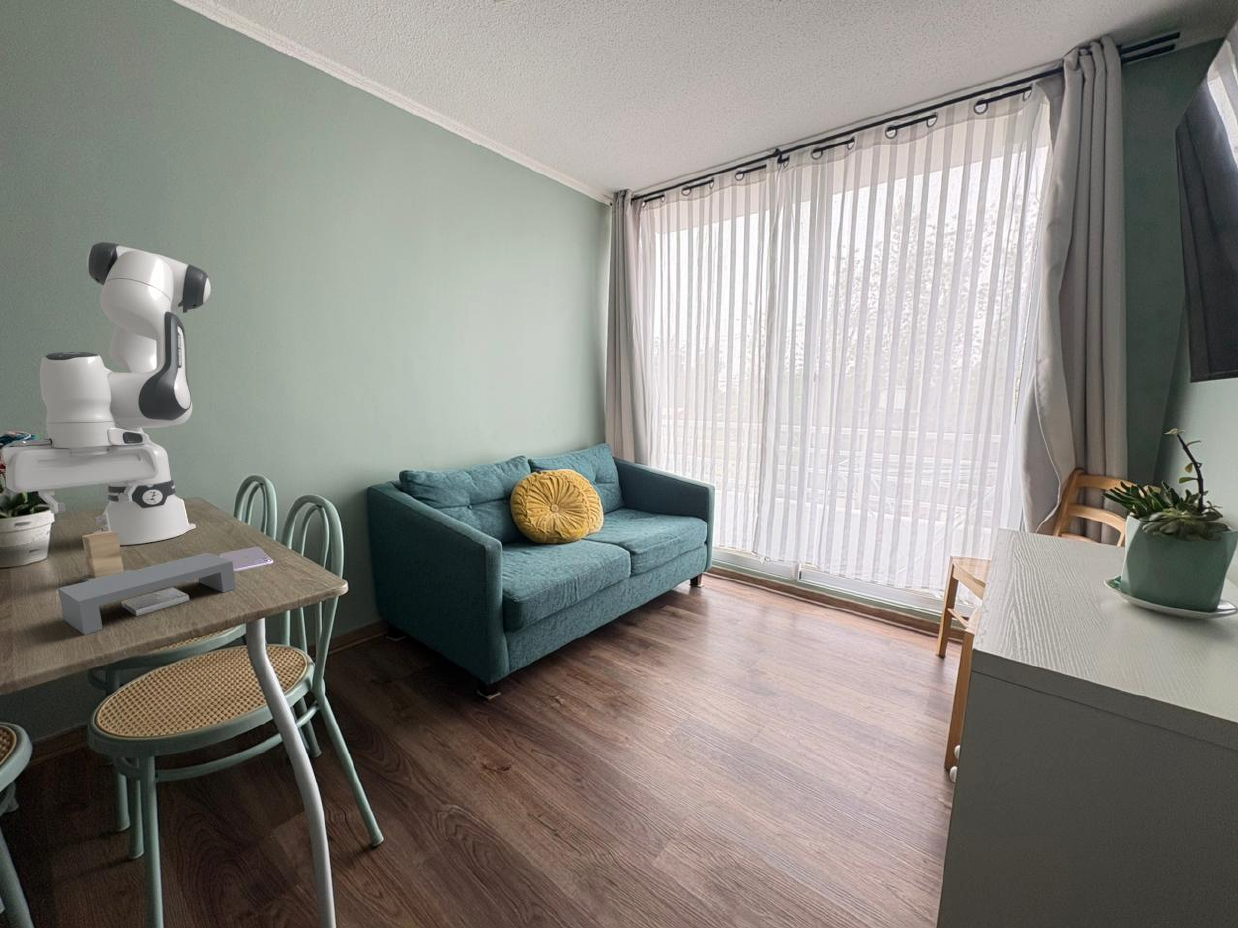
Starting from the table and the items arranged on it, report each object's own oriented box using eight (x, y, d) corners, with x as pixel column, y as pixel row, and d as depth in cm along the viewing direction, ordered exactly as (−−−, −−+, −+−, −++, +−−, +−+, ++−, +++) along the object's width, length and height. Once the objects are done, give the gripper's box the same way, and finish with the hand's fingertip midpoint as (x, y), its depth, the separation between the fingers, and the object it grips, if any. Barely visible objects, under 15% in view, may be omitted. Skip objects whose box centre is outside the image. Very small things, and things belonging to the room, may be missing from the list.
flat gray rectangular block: (122, 609, 84) (121, 601, 84) (174, 594, 90) (173, 587, 90) (137, 618, 81) (135, 610, 81) (189, 602, 87) (188, 595, 87)
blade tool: (82, 580, 95) (74, 537, 94) (123, 570, 101) (117, 529, 99) (112, 597, 88) (104, 550, 86) (155, 586, 93) (148, 541, 92)
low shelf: (63, 619, 79) (58, 588, 78) (211, 578, 97) (208, 552, 96) (84, 634, 74) (78, 601, 74) (235, 588, 92) (232, 561, 91)
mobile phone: (258, 545, 115) (274, 560, 105) (259, 549, 116) (275, 564, 106) (218, 552, 110) (230, 569, 100) (218, 557, 110) (231, 573, 100)
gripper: (6, 441, 82) (19, 521, 84) (158, 434, 100) (166, 499, 102) (-9, 440, 84) (4, 517, 86) (142, 433, 103) (150, 497, 105)
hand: (93, 507), depth 94 cm, fingers open, 8 cm apart
